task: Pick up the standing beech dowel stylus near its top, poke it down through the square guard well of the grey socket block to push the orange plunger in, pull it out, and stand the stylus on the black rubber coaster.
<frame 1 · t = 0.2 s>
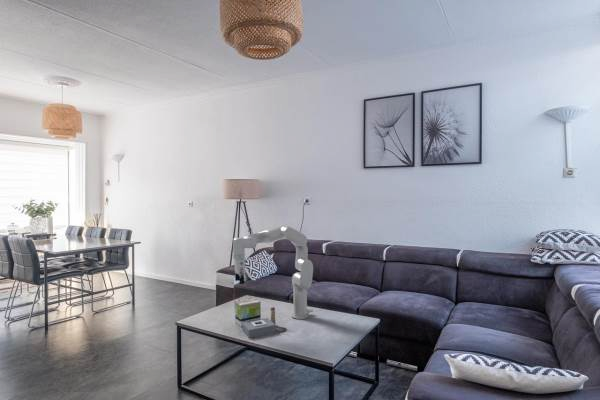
hand: (239, 282, 237), 31 cm above the table, fingers open, 9 cm apart
plunger: (258, 326, 231), point 3 cm above the table, slide at 0.0 cm
coaster: (280, 330, 232), on the table
stylus: (273, 325, 241), on the table
grey socket block: (258, 331, 231), on the table
tea box: (248, 323, 248), on the table
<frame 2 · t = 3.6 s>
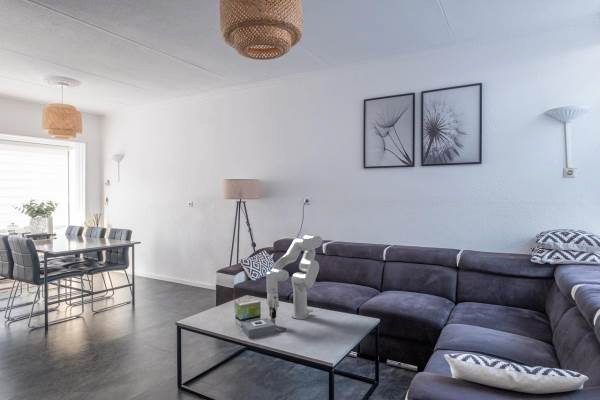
hand: (272, 316, 241), 6 cm above the table, fingers closed on stylus, 3 cm apart
stylus: (273, 325, 241), on the table, touching gripper
everything else where it was.
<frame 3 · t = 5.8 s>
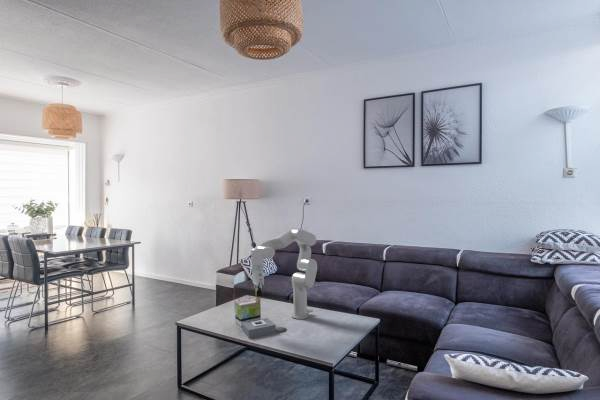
hand: (258, 295, 231), 23 cm above the table, fingers closed on stylus, 3 cm apart
stylus: (258, 304, 231), point 17 cm above the table, touching gripper
everything else where it was.
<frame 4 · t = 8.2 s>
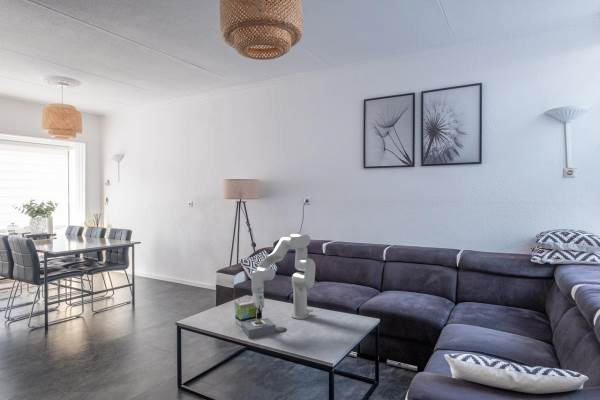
hand: (258, 317, 231), 9 cm above the table, fingers closed on stylus, 3 cm apart
plunger: (258, 328, 231), point 2 cm above the table, slide at 1.2 cm, touching stylus
stylus: (258, 326, 231), point 3 cm above the table, touching gripper, plunger
everything else where it was.
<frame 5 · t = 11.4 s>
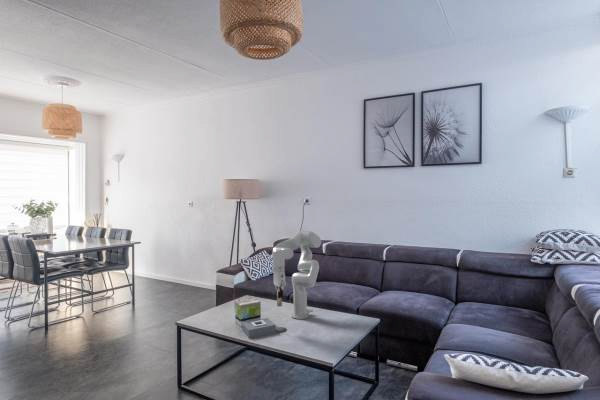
hand: (279, 296, 232), 22 cm above the table, fingers closed on stylus, 3 cm apart
plunger: (258, 328, 231), point 2 cm above the table, slide at 1.2 cm
stylus: (279, 305, 232), point 16 cm above the table, touching gripper
everything else where it was.
when the fingers open (7 cm above the table, at t = 14.2 s): stylus stays where it is, resting on coaster.
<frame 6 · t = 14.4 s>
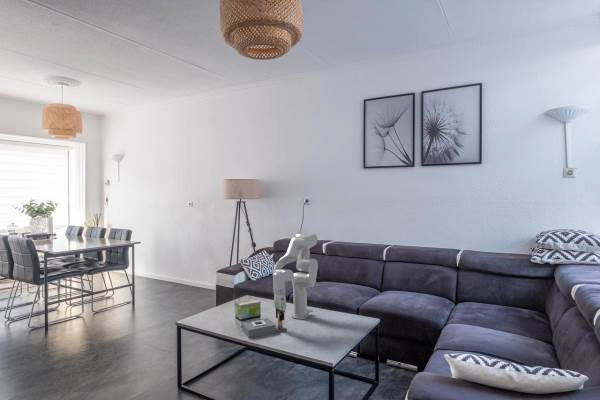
hand: (280, 318, 232), 8 cm above the table, fingers open, 5 cm apart
stylus: (280, 329, 232), point 1 cm above the table, touching coaster
everything else where it was.
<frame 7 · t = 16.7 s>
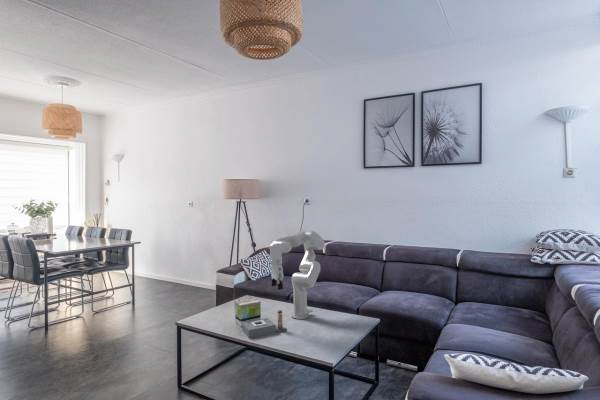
hand: (277, 287, 236), 27 cm above the table, fingers open, 9 cm apart
nothing on the table moved.
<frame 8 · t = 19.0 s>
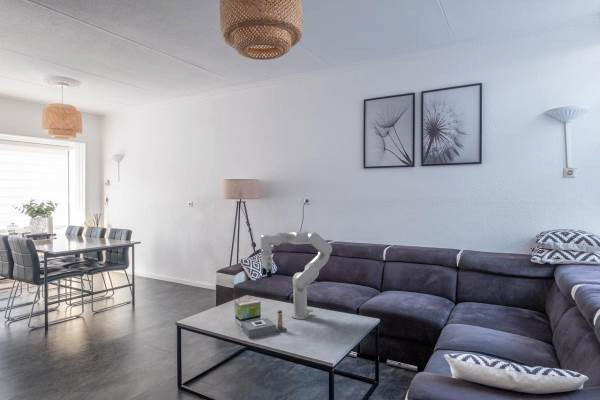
hand: (266, 276, 255), 30 cm above the table, fingers open, 9 cm apart
nothing on the table moved.
at the end: plunger slide at 1.2 cm; stylus inside the target area on the coaster (0.1 cm from its centre), point 0.6 cm above the coaster's base; stylus tilted 0° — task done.
